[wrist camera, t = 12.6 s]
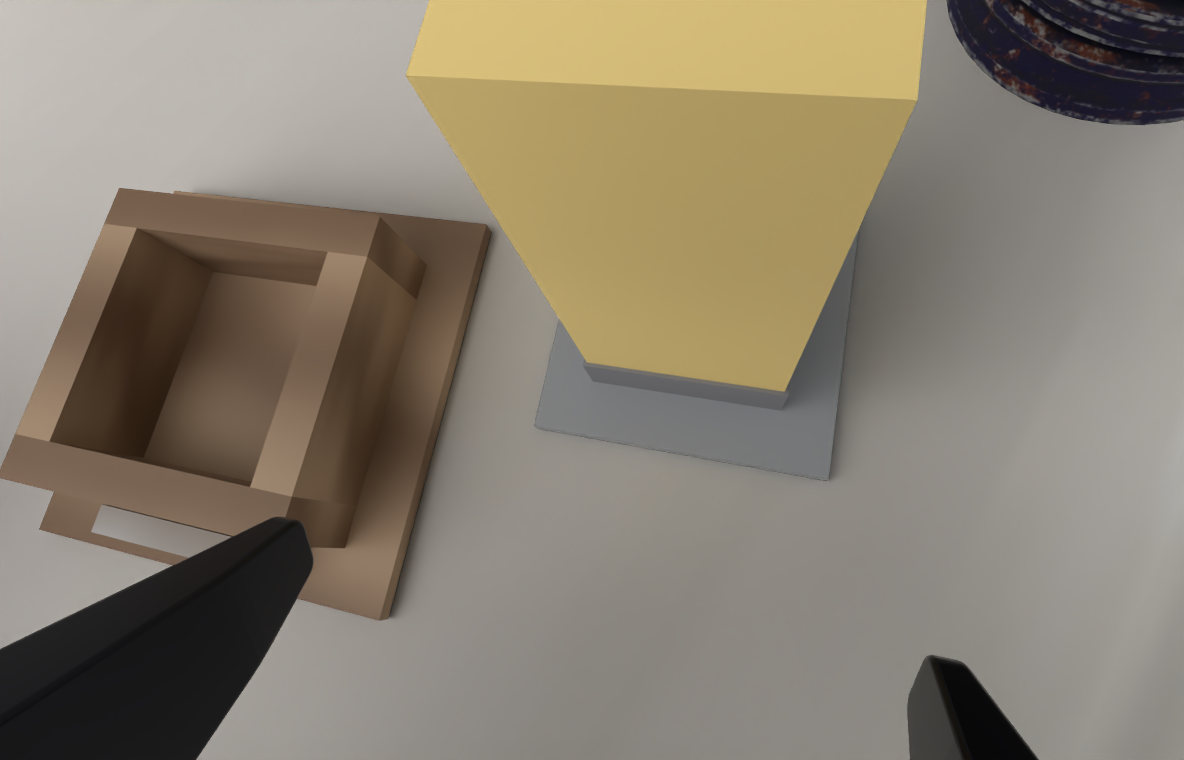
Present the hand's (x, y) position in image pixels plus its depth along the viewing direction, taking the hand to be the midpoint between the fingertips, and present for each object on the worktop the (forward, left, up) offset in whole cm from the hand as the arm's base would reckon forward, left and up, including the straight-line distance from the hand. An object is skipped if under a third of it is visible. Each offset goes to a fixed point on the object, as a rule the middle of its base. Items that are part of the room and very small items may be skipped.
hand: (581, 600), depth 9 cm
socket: (+3, +13, -8) cm, 15 cm away
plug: (+8, 0, -8) cm, 11 cm away
